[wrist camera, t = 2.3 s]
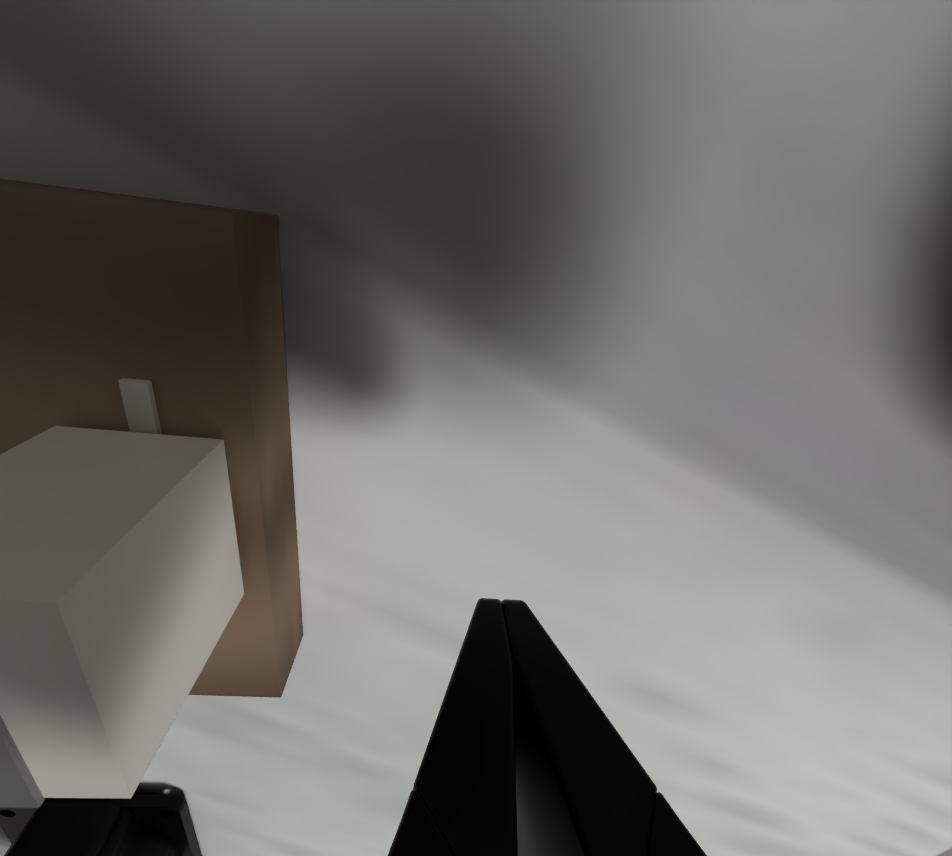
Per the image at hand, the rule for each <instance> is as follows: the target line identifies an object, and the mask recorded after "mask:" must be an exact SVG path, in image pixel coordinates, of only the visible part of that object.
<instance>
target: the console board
mask: <svg viewBox="0 0 952 856" xmlns="http://www.w3.org/2000/svg"><path fill="white" fill-rule="evenodd" d="M54 426H65V427H77V428H89V429H101V430H114V431H126V432H138V433H150V434H162V435H175V436H187V437H199V438H211V439H223V440H224V447H225V454H226V462H227V469H228V476H229V484H230V491H231V499H232V506H233V514H234V521H235V529H236V536H237V543H238V551H239V558H240V566H241V573H242V581H243V588H244V595H243V597H242V598H241V600H240V602H239V604H238V606H237V608H236V609H235V611H234V613H233V615H232V617H231V618H230V620H229V622H228V624H227V626H226V627H225V629H224V631H223V633H222V635H221V637H220V638H219V640H218V642H217V644H216V646H215V647H214V649H213V651H212V653H211V655H210V656H209V658H208V660H207V662H206V664H205V665H204V667H203V669H202V671H201V673H200V675H199V676H198V678H197V680H196V682H195V684H194V685H193V687H192V689H191V691H190V693H189V694H188V695H217V696H251V697H281V696H282V693H283V690H284V687H285V684H286V682H287V679H288V676H289V673H290V670H291V668H292V665H293V662H294V659H295V656H296V654H297V651H298V648H299V645H300V642H301V640H302V637H303V626H302V610H301V594H300V578H299V562H298V546H297V530H296V514H295V498H294V482H293V466H292V450H291V434H290V418H289V402H288V386H287V370H286V354H285V338H284V322H283V306H282V290H281V274H280V258H279V242H278V226H277V215H274V214H266V213H258V212H251V211H243V210H235V209H227V208H220V207H212V206H204V205H197V204H189V203H181V202H173V201H166V200H158V199H150V198H142V197H135V196H127V195H119V194H111V193H104V192H96V191H88V190H80V189H73V188H65V187H57V186H50V185H42V184H34V183H26V182H19V181H11V180H3V179H0V454H2V453H4V452H6V451H8V450H10V449H12V448H14V447H16V446H18V445H19V444H21V443H23V442H25V441H27V440H29V439H31V438H33V437H35V436H37V435H38V434H40V433H42V432H44V431H46V430H48V429H50V428H52V427H54Z"/></svg>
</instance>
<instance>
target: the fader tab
mask: <svg viewBox="0 0 952 856" xmlns="http://www.w3.org/2000/svg"><path fill="white" fill-rule="evenodd" d="M243 595H244V588H243V581H242V573H241V566H240V558H239V551H238V543H237V536H236V529H235V521H234V514H233V506H232V499H231V491H230V484H229V476H228V469H227V462H226V454H225V447H224V440H223V439H211V438H199V437H187V436H175V435H162V434H150V433H138V432H126V431H114V430H101V429H89V428H77V427H65V426H54V427H52V428H50V429H48V430H46V431H44V432H42V433H40V434H38V435H37V436H35V437H33V438H31V439H29V440H27V441H25V442H23V443H21V444H19V445H18V446H16V447H14V448H12V449H10V450H8V451H6V452H4V453H2V454H0V808H39V807H40V806H41V805H42V803H43V802H44V800H45V799H44V798H125V799H131V798H132V796H133V794H134V792H135V790H136V789H137V787H138V785H139V783H140V781H141V780H142V778H143V776H144V774H145V772H146V770H147V769H148V767H149V765H150V763H151V761H152V760H153V758H154V756H155V754H156V752H157V751H158V749H159V747H160V745H161V743H162V742H163V740H164V738H165V736H166V734H167V732H168V731H169V729H170V727H171V725H172V723H173V722H174V720H175V718H176V716H177V714H178V713H179V711H180V709H181V707H182V705H183V703H184V702H185V700H186V698H187V696H188V694H189V693H190V691H191V689H192V687H193V685H194V684H195V682H196V680H197V678H198V676H199V675H200V673H201V671H202V669H203V667H204V665H205V664H206V662H207V660H208V658H209V656H210V655H211V653H212V651H213V649H214V647H215V646H216V644H217V642H218V640H219V638H220V637H221V635H222V633H223V631H224V629H225V627H226V626H227V624H228V622H229V620H230V618H231V617H232V615H233V613H234V611H235V609H236V608H237V606H238V604H239V602H240V600H241V598H242V597H243Z"/></svg>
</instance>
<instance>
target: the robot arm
mask: <svg viewBox="0 0 952 856" xmlns="http://www.w3.org/2000/svg"><path fill="white" fill-rule="evenodd" d="M656 792H657V788H656V785H655V784H654V783H653V781H652V780H651V778H650V777H649V776H648V774H647V773H646V771H645V770H644V769H643V767H642V766H641V764H640V763H639V762H638V760H637V759H636V757H635V756H634V755H633V753H632V752H631V750H630V749H629V748H628V746H627V745H626V743H625V742H624V741H623V739H622V738H621V736H620V735H619V733H618V732H617V731H616V729H615V728H614V726H613V725H612V724H611V722H610V721H609V719H608V718H607V717H606V715H605V714H604V712H603V711H602V710H601V708H600V707H599V705H598V704H597V703H596V701H595V700H594V698H593V697H592V696H591V694H590V693H589V691H588V690H587V689H586V687H585V686H584V684H583V683H582V682H581V680H580V679H579V677H578V676H577V674H576V673H575V672H574V670H573V669H572V667H571V666H570V665H569V663H568V662H567V660H566V659H565V658H564V656H563V655H562V653H561V652H560V651H559V649H558V648H557V646H556V645H555V644H554V642H553V641H552V639H551V638H550V637H549V635H548V634H547V632H546V631H545V630H544V628H543V627H542V625H541V624H540V623H539V621H538V620H537V618H536V617H535V615H534V614H533V613H532V611H531V610H530V608H529V607H528V606H527V604H526V603H525V602H524V601H521V600H503V601H502V602H501V601H500V600H499V599H486V598H481V599H479V600H478V602H477V605H476V607H475V610H474V613H473V616H472V619H471V622H470V625H469V628H468V630H467V633H466V636H465V639H464V642H463V645H462V648H461V651H460V653H459V656H458V659H457V662H456V665H455V668H454V671H453V674H452V676H451V679H450V682H449V685H448V688H447V691H446V694H445V697H444V699H443V702H442V705H441V708H440V711H439V714H438V717H437V720H436V722H435V725H434V728H433V731H432V734H431V737H430V740H429V743H428V745H427V748H426V751H425V754H424V757H423V760H422V763H421V766H420V768H419V771H418V774H417V777H416V780H415V783H414V788H413V790H412V791H411V793H410V796H409V799H408V802H407V805H406V808H405V811H404V814H403V816H402V819H401V822H400V825H399V827H398V830H397V833H396V835H395V838H394V841H393V843H392V846H391V849H390V851H389V854H388V856H707V855H706V854H705V853H704V851H703V850H702V849H701V847H700V846H699V845H698V843H697V842H696V841H695V839H694V838H693V837H692V835H691V834H690V833H689V831H688V830H687V828H686V827H685V826H684V824H683V823H682V822H681V820H680V819H679V818H678V816H677V815H676V813H675V812H674V811H673V809H672V808H671V806H670V805H669V803H668V802H667V801H666V799H665V798H664V796H663V795H662V794H661V793H660V792H658V793H656ZM44 799H45V800H44V802H43V803H42V805H41V806H40V807H39V808H0V826H1V827H2V829H3V830H4V832H5V833H6V835H7V837H8V838H9V840H10V841H11V843H12V845H11V847H10V848H9V849H8V851H7V852H6V854H5V855H4V856H201V853H200V849H199V846H198V842H197V839H196V835H195V832H194V828H193V825H192V821H191V818H190V814H189V811H188V807H187V804H186V801H185V800H184V799H183V798H182V797H179V796H176V795H154V794H133V796H132V798H131V799H125V798H44Z"/></svg>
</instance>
